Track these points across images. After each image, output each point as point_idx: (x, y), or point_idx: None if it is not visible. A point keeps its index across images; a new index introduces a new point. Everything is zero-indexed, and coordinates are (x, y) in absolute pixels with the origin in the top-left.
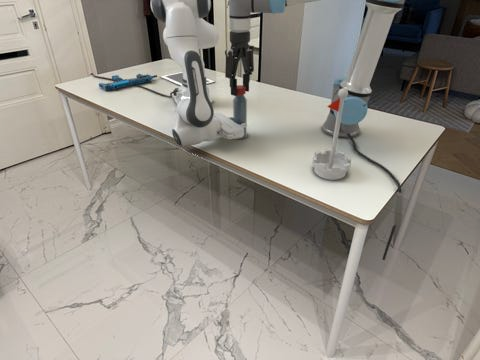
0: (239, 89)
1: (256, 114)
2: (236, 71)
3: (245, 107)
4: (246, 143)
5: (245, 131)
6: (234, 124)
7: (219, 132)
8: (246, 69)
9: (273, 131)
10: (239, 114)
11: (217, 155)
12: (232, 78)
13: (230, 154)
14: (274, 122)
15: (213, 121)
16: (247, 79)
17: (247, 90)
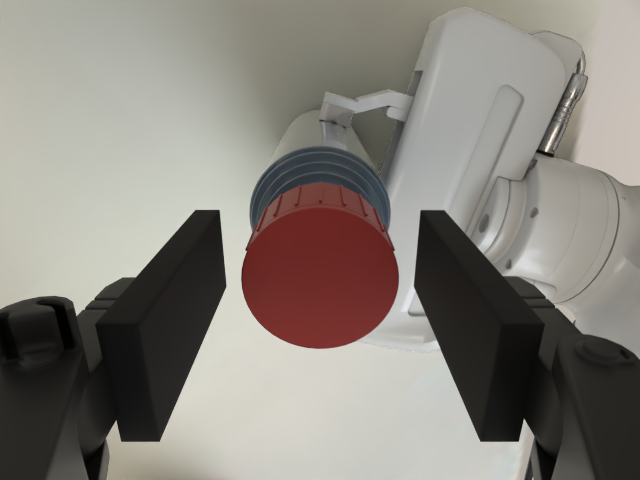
0: (384, 233)
1: (39, 277)
2: (604, 469)
3: (314, 137)
4: (368, 50)
5: (314, 113)
6: (440, 120)
7: (559, 139)
8: (74, 468)
9: (119, 33)
10: (365, 151)
11: (586, 73)
12: (620, 366)
13: (537, 22)
14: (21, 122)
15: (573, 217)
16: (169, 290)
17: (216, 219)
